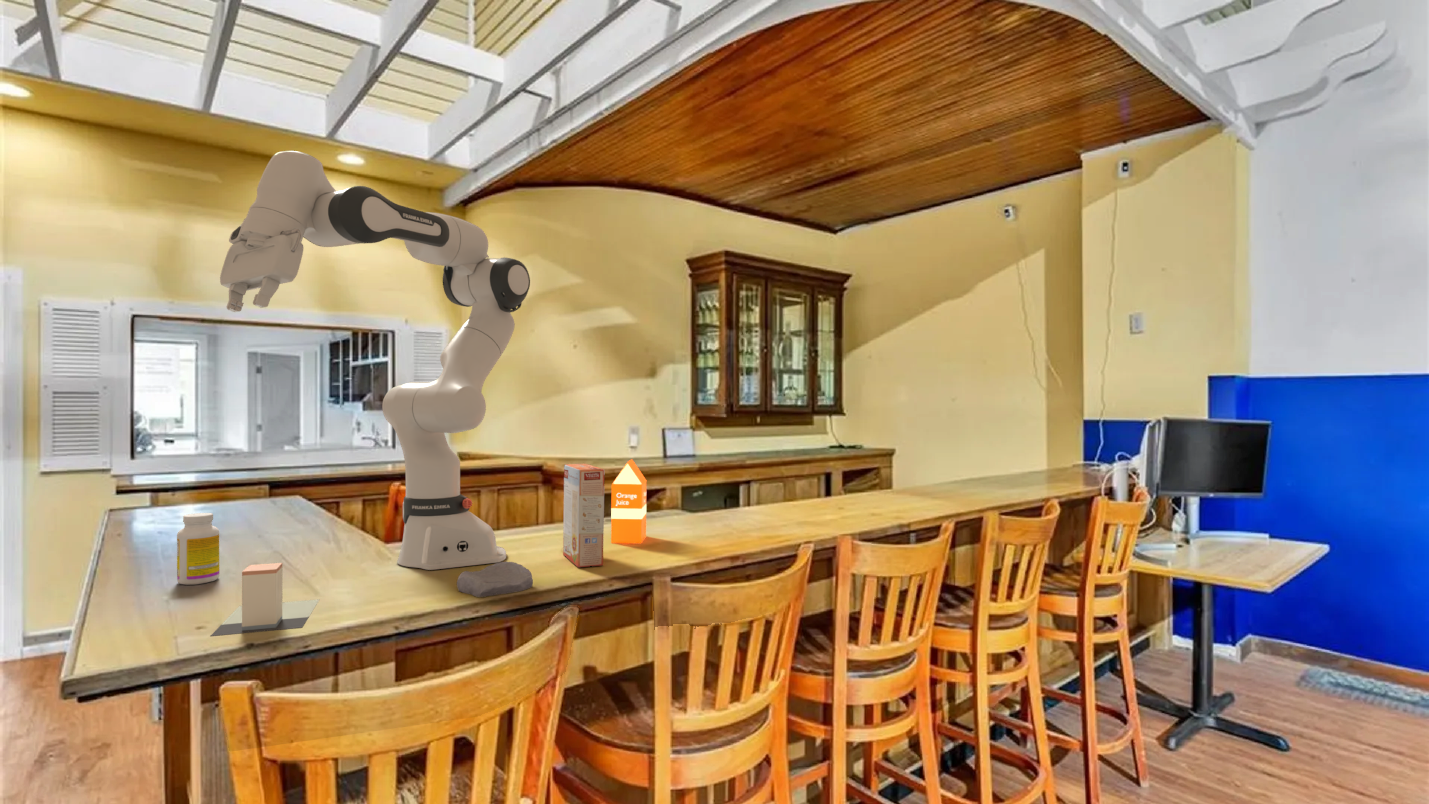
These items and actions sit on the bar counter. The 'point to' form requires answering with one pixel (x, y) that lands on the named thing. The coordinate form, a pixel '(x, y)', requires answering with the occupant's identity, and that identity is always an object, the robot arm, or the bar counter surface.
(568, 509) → the cracker box
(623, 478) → the orange juice
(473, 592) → the stone block
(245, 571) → the pillar block
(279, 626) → the bar mat
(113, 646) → the bar counter surface
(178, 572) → the supplement bottle
